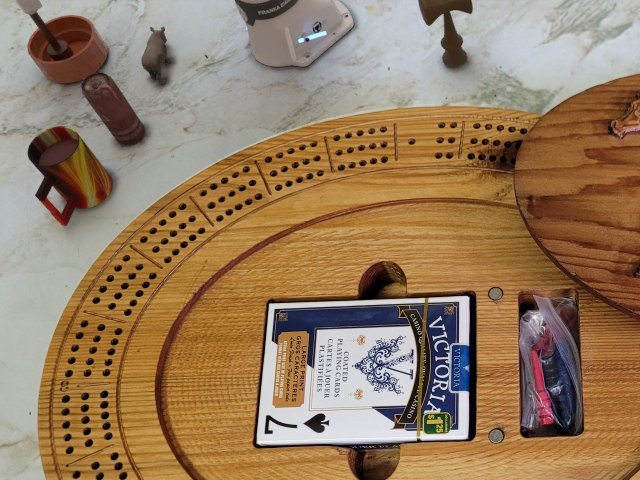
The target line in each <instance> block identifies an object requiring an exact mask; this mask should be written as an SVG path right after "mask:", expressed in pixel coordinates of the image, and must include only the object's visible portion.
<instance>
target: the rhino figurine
mask: <svg viewBox="0 0 640 480" xmlns="http://www.w3.org/2000/svg"><path fill="white" fill-rule="evenodd" d="M149 28H150V29H149V30H150V31H151V32H152V33H151V34H150V36H149V38H148V39H147V42H146V47H145V49H144V51H143V54H142V56H141V60H140V62H141V66H142V68H143V69H144V70H145V71H146V72H147V73H148V74H149V76H150V79H151V80H152V81H156V80H157V81H158V84H159V85H164V84H165V83H167V82H166V81H167V80H166V79H165V78H164V77H162V65H163V64H164V63H165V64H171V63H172V59H171V58H169V57H168V46H167V45H166V44H167V41H168V39H167V36H166V32H165V31H166V28H165V26H161V27H160V29H157V30H156V29H154V28H153V27H152V26H150V27H149Z"/></svg>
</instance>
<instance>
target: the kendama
mask: <svg viewBox="0 0 640 480" xmlns="http://www.w3.org/2000/svg"><path fill="white" fill-rule="evenodd" d="M417 2H418V7H419V11H420V13H421V16H422V17H421V18H422V19H423V21H424V24H425V25H426V26H428V27H431V26H432V25H433V24H434V23H435V22H436V21H437V20H438V19H439V18H440V17H441V16H443V37H442V38H441V40H440V43H439V44H440V46H441V47H442V49H443V50H444V52H443V54H442V57H441V60H442V63H443V64H444V65H445V66H446V67H448V68H457V67H461V66H463V65H464V64H465V63H466V62H467V61H468V54H467V52H466V51H465V50H464V49H463V47H462V46H463V44H464V38H463V36H462V35H461V34H459V33H458V32H457V28H456V26H455V23H454V20H453V17H452V13H451V12H453V11H458V12H462V13H465V14H468V15H472V14H473V10H474V6H473V5H474V4H473V1H472V0H417Z"/></svg>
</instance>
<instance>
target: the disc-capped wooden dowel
mask: <svg viewBox="0 0 640 480" xmlns="http://www.w3.org/2000/svg"><path fill="white" fill-rule="evenodd" d="M28 16H29V17H30V19H31V20H32V21H33V23H34V24H35V25H36V27H37V29H38V28H39V29H40V31H41V32H42V34H43V35H44V36H45V38H46V39H47V41H48V42H49V43H50V45H49V46H48V48H47V52H48V54H49V55H50V56H51V58H52V59H53V61H54V62H55V61H61V60H64V59H67V58H70V57H72V56H73V55H74V53H73V51H72V49H71V48H70V47H69V45H68V44H67V42H66V41H64V40H56V38H55V37H54V35H53V34H52V33H51V31H50V30H49V28H48V27H47V26H46V24H45V23H46V22H45V21H44V19H42V17H41V16H40V14H39V13H38V11H37V12H36V13H34V14H32V15H30V14H28Z"/></svg>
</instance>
